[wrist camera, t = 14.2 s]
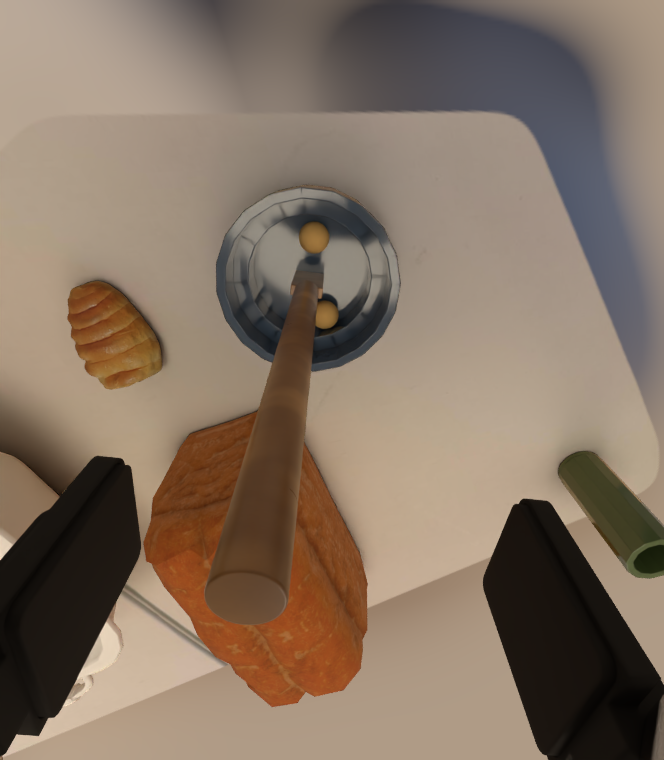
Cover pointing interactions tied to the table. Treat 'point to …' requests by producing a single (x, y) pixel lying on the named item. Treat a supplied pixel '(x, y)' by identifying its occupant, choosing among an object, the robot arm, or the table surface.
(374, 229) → the bowl
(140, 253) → the table surface
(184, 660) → the table surface
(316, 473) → the bread
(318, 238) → the chickpea
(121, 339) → the pastry
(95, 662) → the baking dish
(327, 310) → the chickpea
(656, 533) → the utensil pot
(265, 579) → the wooden dowel rod
